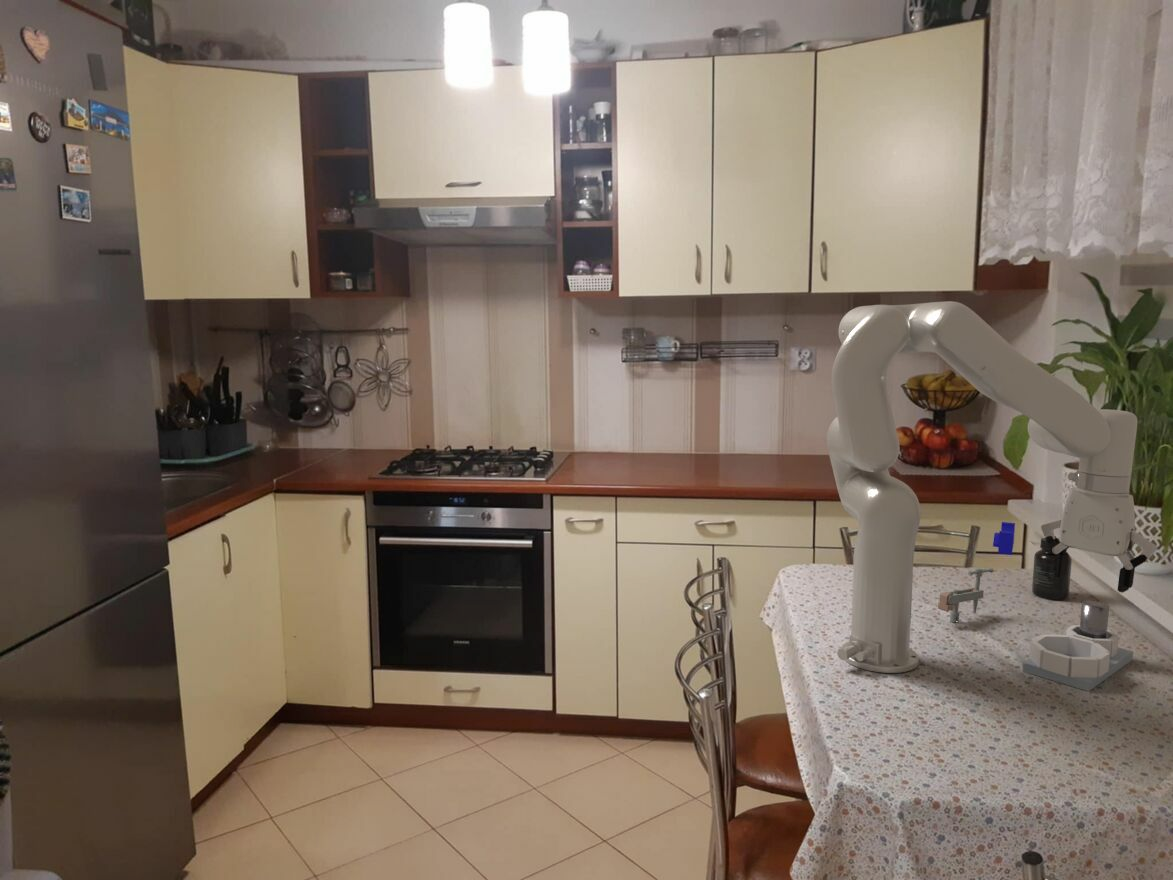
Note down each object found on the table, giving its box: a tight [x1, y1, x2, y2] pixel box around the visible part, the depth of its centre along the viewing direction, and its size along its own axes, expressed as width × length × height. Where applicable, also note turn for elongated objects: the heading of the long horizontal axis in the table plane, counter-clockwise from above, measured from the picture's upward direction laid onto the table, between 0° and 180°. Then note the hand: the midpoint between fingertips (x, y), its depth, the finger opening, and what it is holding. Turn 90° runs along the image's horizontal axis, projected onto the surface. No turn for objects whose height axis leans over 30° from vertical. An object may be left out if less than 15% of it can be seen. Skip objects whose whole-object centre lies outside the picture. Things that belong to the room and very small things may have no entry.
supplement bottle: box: [1031, 537, 1072, 601], centre depth 175 cm, size 7×7×12 cm
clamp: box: [937, 567, 995, 623], centre depth 162 cm, size 15×2×10 cm, turn 123°
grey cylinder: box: [1079, 600, 1110, 639], centre depth 143 cm, size 4×4×8 cm
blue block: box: [992, 521, 1016, 556], centre depth 211 cm, size 12×4×6 cm, turn 151°
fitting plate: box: [1022, 624, 1134, 692], centre depth 140 cm, size 19×11×4 cm, turn 130°
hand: (1091, 583), depth 142 cm, fingers open, 9 cm apart
